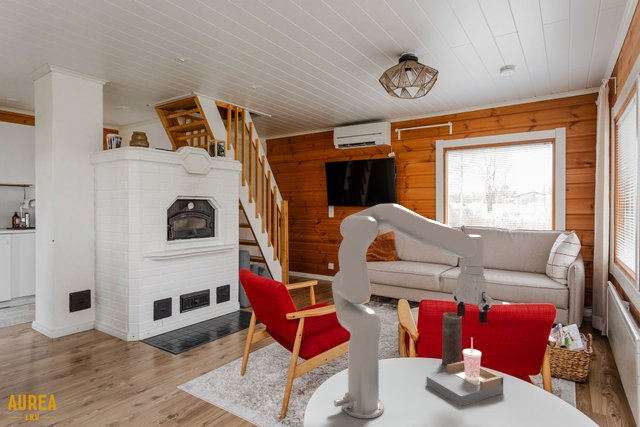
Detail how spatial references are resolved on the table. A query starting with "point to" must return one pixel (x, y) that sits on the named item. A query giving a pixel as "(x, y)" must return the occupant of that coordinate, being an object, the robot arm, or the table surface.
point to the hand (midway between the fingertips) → (471, 319)
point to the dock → (466, 384)
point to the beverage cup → (472, 362)
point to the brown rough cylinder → (451, 338)
